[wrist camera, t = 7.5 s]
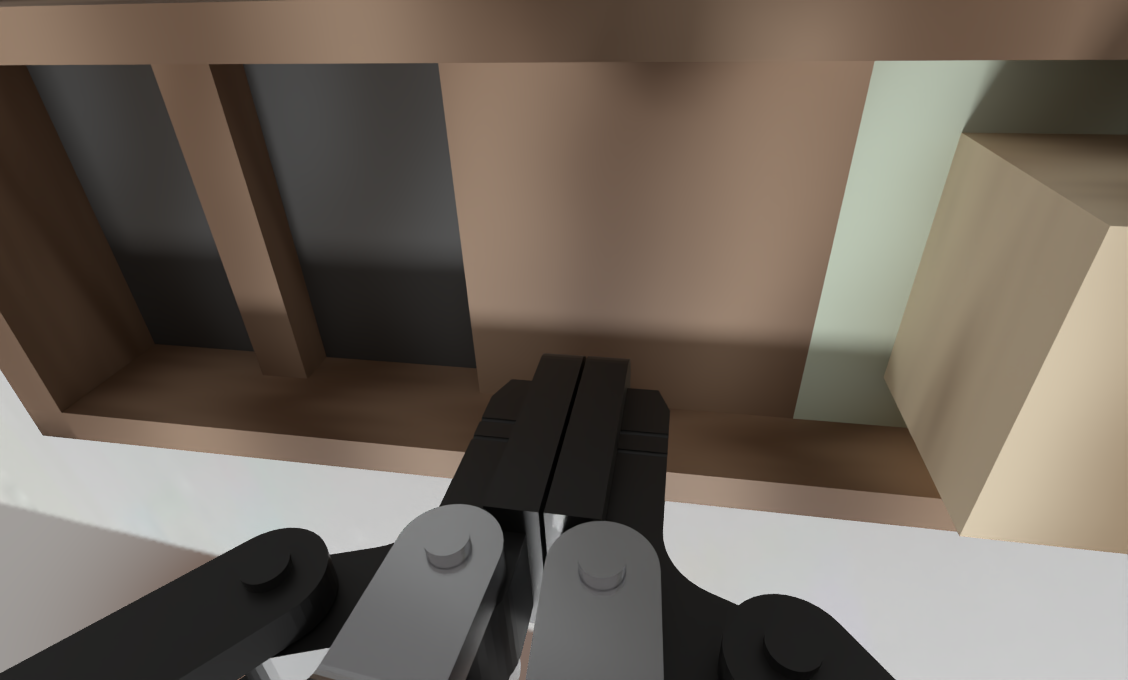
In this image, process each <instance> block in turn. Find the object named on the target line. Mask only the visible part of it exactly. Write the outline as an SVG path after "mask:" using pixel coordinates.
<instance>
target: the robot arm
mask: <svg viewBox="0 0 1128 680" xmlns="http://www.w3.org/2000/svg"><path fill="white" fill-rule="evenodd" d="M630 377H631V362H630V359H626V358H611V357H597V356H588V357H587V359H586V356H580V355H566V354H551V353H544V354H543V355H542V357H541V359H540V361H539V364H538V366H537V369H536V372H535V374H534V377H533V379H532V381H530V380H517V379H511V380H510V381H509V382H508V383H507V384H505V385H504V386H503V387H502V388H501V389H500V390H498V391H497V392H496V393H495V394H494V395H493V396H492V397H491V399H490V401H489V403H488V405H487V407H486V409H485V411H484V414H483V416H482V421H480V422H479V424H478V426H477V428H476V430H475V433H474V437H473V439H471V441H470V443H469V445H468V447H467V449H466V452H465V454H464V456H463V458H462V460H461V462H460V464H459V466H458V469H457V471H456V473H455V475H454V477H453V479H452V481H451V483H450V485H449V488H448V490H447V492H446V494H445V496H444V498H443V500H442V502H441V504H440V506H439V507H437V508H434V509H432V510H429V511H427V512H425V513H423V514H421V515H420V516H418V517H417V518H415V519H414V520H413V521H411V522H410V523H409V524H408V525H407V526H406V527H405V528H404V529H403V531H402V532H401V533H400V535H399V536H398V538H397V540H396V541H395V543H392V544H389V545H386V546H381V547H376V548H370V549H364V550H357V551H351V552H344V553H338V554H332V555H329V552H328V549H327V547H326V545H325V543H324V541H323V540H322V539H321V538H320V536H318V535H317V534H315V533H314V532H311V531H309V530H306V529H301V528H284V529H277V530H273V531H269V532H267V533H264V534H261V535H259V536H256V537H254V538H252V539H250V540H248V541H246V542H245V543H243V544H241V545H239V546H237V547H235V548H233V549H232V550H230V551H228V552H226V553H224V554H222V555H220V556H218V557H217V558H215V559H213V560H211V561H209V562H207V563H205V564H204V565H202V566H200V567H198V568H196V569H194V570H192V571H190V572H189V573H187V574H185V575H183V576H181V577H179V578H178V579H176V580H174V581H172V582H170V583H168V584H166V585H165V586H162V587H161V588H159V589H157V590H155V591H153V592H151V593H149V594H148V595H146V596H144V597H142V598H140V599H138V600H136V601H134V602H133V603H131V604H129V605H127V606H125V607H123V608H121V609H119V610H118V611H116V612H114V613H112V614H110V615H108V616H106V617H105V618H103V619H101V620H99V621H97V622H95V623H93V624H91V625H90V626H88V627H86V628H84V629H82V630H80V631H78V632H77V633H75V634H73V635H71V636H69V637H67V638H65V639H63V640H62V641H60V642H58V643H56V644H54V645H52V646H50V647H48V648H47V649H45V650H43V651H41V652H39V653H37V654H35V655H34V656H32V657H30V658H28V659H26V660H24V661H22V662H21V663H19V664H17V665H15V666H13V667H11V668H9V669H7V670H6V671H4V672H2V673H0V680H237V679H239V678H241V677H242V676H243V675H246V676H244V677H243V678H241V679H240V680H518V679H519V675H520V667H521V663H520V656H521V653H522V649H523V645H524V641H525V637H526V633H527V629H528V625H529V622H530V623H535V626H534V632H533V638H532V645H531V650H530V656H529V663H528V669H527V675H526V680H895V679H894V678H893V677H892V676H891V675H890V674H889V673H888V672H887V671H886V670H885V669H884V668H883V667H882V666H881V665H880V664H879V663H878V662H877V661H876V660H875V659H874V658H873V657H872V656H871V655H870V654H869V653H868V652H867V651H866V650H865V649H864V648H863V647H862V646H861V645H860V644H859V643H858V642H857V641H856V640H855V639H854V638H853V637H852V636H851V635H850V634H849V633H848V632H847V631H846V630H845V629H844V628H843V627H842V626H841V625H840V624H839V623H838V622H837V621H836V620H835V619H834V618H833V617H832V616H830V615H829V614H828V613H826V612H825V611H823V610H822V609H821V608H819V607H817V606H815V605H813V604H811V603H809V602H807V601H805V600H802V599H799V598H796V597H792V596H788V595H780V594H766V595H760V596H756V597H753V598H750V599H748V600H746V601H744V602H743V603H741V604H740V605H736V604H734V603H732V602H730V601H727V600H725V599H723V598H721V597H718V596H716V595H714V594H712V593H709V592H707V591H705V590H703V589H701V588H700V587H698V586H696V585H695V584H693V583H692V582H691V581H689V580H688V579H687V578H686V577H685V576H683V575H682V574H681V573H680V572H679V570H678V569H677V568H676V567H675V566H674V564H673V563H672V561H671V560H670V558H669V556H668V554H667V552H666V549H665V546H664V541H663V521H664V504H665V488H666V471H667V455H668V438H669V422H670V410H669V408H668V406H667V404H666V403H665V401H664V399H663V397H662V396H661V394H660V392H659V390H647V389H634V388H630Z"/></svg>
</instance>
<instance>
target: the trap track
mask: <svg viewBox="0 0 1128 680" xmlns="http://www.w3.org/2000/svg"><path fill="white" fill-rule="evenodd" d="M961 133H1033V134H1112V135H1128V0H0V370H1V371H2V373H3V374H4V376H5V377H6V379H7V380H8V382H9V384H10V385H11V387H12V388H13V390H14V391H15V393H16V394H17V396H18V398H19V399H20V401H21V402H22V404H23V405H24V407H25V408H26V410H27V412H28V413H29V415H30V416H31V418H32V419H33V421H34V422H35V424H36V426H37V427H38V429H39V430H40V432H41V433H42V435H44V436H53V437H63V438H72V439H82V440H91V441H101V442H110V443H120V444H129V445H139V446H148V447H158V448H167V449H177V450H186V451H196V452H205V453H215V454H224V455H234V456H243V457H253V458H263V459H272V460H282V461H291V462H301V463H310V464H320V465H329V466H339V467H348V468H358V469H367V470H377V471H386V472H396V473H405V474H415V475H424V476H434V477H443V478H453V477H454V475H455V473H456V471H457V469H458V466H459V464H460V462H461V460H462V458H463V456H464V454H465V452H466V449H467V447H468V445H469V443H470V441H471V439H473V437H474V433H475V430H476V428H477V426H478V424H479V422H480V421H482V416H483V414H484V411H485V409H486V407H487V405H488V403H489V401H490V399H491V397H492V396H493V395H494V394H495V393H496V392H497V391H498V390H500V389H501V388H502V387H503V386H504V385H505V384H507V383H508V382H509V381H510V380H511V379H517V380H530V381H532V379H533V377H534V374H535V372H536V369H537V366H538V364H539V361H540V359H541V357H542V355H543V354H544V353H551V354H566V355H580V356H586V359H587V357H588V356H597V357H611V358H626V359H630V362H631V377H630V388H634V389H647V390H659V392H660V394H661V396H662V397H663V399H664V401H665V403H666V404H667V406H668V408H669V410H670V422H669V438H668V455H667V471H666V488H665V501H671V502H681V503H690V504H700V505H709V506H719V507H728V508H738V509H747V510H757V511H766V512H776V513H785V514H795V515H804V516H814V517H823V518H833V519H842V520H852V521H861V522H871V523H880V524H890V525H899V526H909V527H918V528H928V529H937V530H947V531H957V530H956V528H955V526H954V523H953V521H952V519H951V517H950V515H949V513H948V511H947V509H946V507H945V505H944V503H943V500H942V498H941V496H940V494H939V492H938V490H937V488H936V486H935V484H934V482H933V480H932V478H931V475H930V473H929V471H928V469H927V467H926V465H925V463H924V461H923V459H922V457H921V455H920V452H919V450H918V448H917V446H916V444H915V442H914V440H913V438H912V436H911V434H910V432H909V430H908V427H907V425H906V423H905V421H904V419H903V417H902V415H901V413H900V411H899V409H898V407H897V404H896V402H895V400H894V398H893V396H892V394H891V392H890V390H889V388H888V386H887V384H886V382H885V379H884V374H885V371H886V368H887V365H888V362H889V358H890V355H891V352H892V349H893V346H894V343H895V340H896V336H897V333H898V330H899V327H900V324H901V321H902V318H903V314H904V311H905V308H906V305H907V302H908V299H909V296H910V292H911V289H912V286H913V283H914V280H915V277H916V274H917V270H918V267H919V264H920V261H921V258H922V255H923V252H924V248H925V245H926V242H927V239H928V236H929V233H930V230H931V226H932V223H933V220H934V217H935V214H936V211H937V208H938V204H939V201H940V198H941V195H942V192H943V189H944V186H945V182H946V179H947V176H948V173H949V170H950V167H951V164H952V160H953V157H954V154H955V151H956V148H957V145H958V142H959V138H960V135H961Z"/></svg>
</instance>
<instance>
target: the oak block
mask: <svg viewBox="0 0 1128 680" xmlns="http://www.w3.org/2000/svg"><path fill="white" fill-rule="evenodd" d="M884 379H885V382H886V384H887V386H888V388H889V390H890V392H891V394H892V396H893V398H894V400H895V402H896V404H897V407H898V409H899V411H900V413H901V415H902V417H903V419H904V421H905V423H906V425H907V427H908V430H909V432H910V434H911V436H912V438H913V440H914V442H915V444H916V446H917V448H918V450H919V452H920V455H921V457H922V459H923V461H924V463H925V465H926V467H927V469H928V471H929V473H930V475H931V478H932V480H933V482H934V484H935V486H936V488H937V490H938V492H939V494H940V496H941V498H942V500H943V503H944V505H945V507H946V509H947V511H948V513H949V515H950V517H951V519H952V521H953V523H954V526H955V528H956V530H957V532H958V534H959V536H963V537H973V538H982V539H991V540H1001V541H1010V542H1020V543H1029V544H1038V545H1048V546H1057V547H1066V548H1076V549H1085V550H1095V551H1104V552H1113V553H1123V554H1128V135H1112V134H1033V133H961V135H960V138H959V142H958V145H957V148H956V151H955V154H954V157H953V160H952V164H951V167H950V170H949V173H948V176H947V179H946V182H945V186H944V189H943V192H942V195H941V198H940V201H939V204H938V208H937V211H936V214H935V217H934V220H933V223H932V226H931V230H930V233H929V236H928V239H927V242H926V245H925V248H924V252H923V255H922V258H921V261H920V264H919V267H918V270H917V274H916V277H915V280H914V283H913V286H912V289H911V292H910V296H909V299H908V302H907V305H906V308H905V311H904V314H903V318H902V321H901V324H900V327H899V330H898V333H897V336H896V340H895V343H894V346H893V349H892V352H891V355H890V358H889V362H888V365H887V368H886V371H885V374H884Z"/></svg>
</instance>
